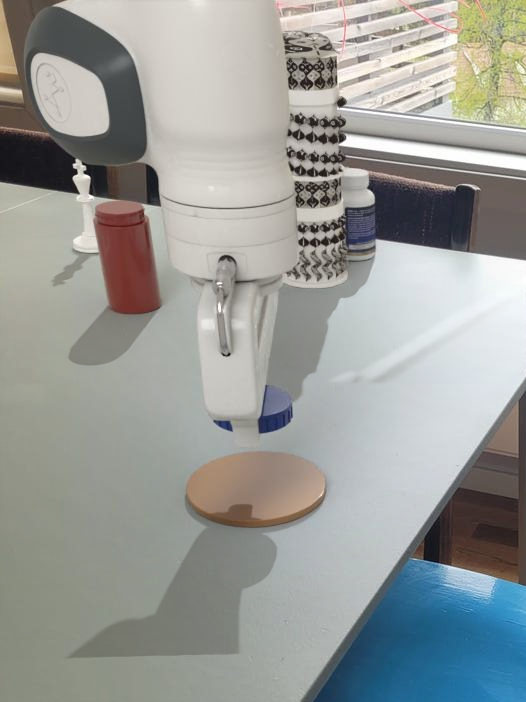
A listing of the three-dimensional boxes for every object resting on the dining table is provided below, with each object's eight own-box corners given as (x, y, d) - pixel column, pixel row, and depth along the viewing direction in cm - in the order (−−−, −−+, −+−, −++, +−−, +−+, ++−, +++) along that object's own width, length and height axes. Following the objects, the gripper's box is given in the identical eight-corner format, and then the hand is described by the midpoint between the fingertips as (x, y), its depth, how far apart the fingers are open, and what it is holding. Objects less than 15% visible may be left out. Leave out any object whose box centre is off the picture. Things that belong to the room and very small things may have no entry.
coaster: (178, 528, 75) (177, 521, 75) (195, 457, 84) (194, 451, 83) (324, 526, 77) (324, 520, 76) (327, 457, 85) (327, 450, 85)
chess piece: (92, 255, 120) (75, 167, 114) (64, 247, 122) (46, 159, 116) (123, 246, 124) (109, 159, 117) (95, 237, 125) (80, 151, 119)
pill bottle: (383, 252, 127) (383, 170, 121) (362, 264, 123) (360, 180, 117) (347, 245, 128) (344, 163, 122) (324, 256, 125) (321, 173, 118)
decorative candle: (304, 257, 124) (290, 24, 108) (366, 273, 121) (361, 35, 105) (257, 278, 117) (236, 33, 102) (322, 295, 114) (310, 44, 98)
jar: (104, 313, 107) (85, 214, 100) (113, 294, 111) (96, 198, 105) (157, 314, 107) (142, 215, 101) (165, 295, 112) (151, 200, 105)
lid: (300, 404, 78) (299, 387, 78) (282, 438, 74) (281, 421, 73) (224, 396, 78) (222, 379, 78) (201, 429, 74) (199, 412, 73)
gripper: (270, 290, 60) (287, 489, 69) (286, 194, 76) (298, 366, 84) (162, 288, 59) (193, 490, 68) (201, 192, 75) (222, 366, 84)
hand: (251, 420), depth 76 cm, fingers closed on lid, 6 cm apart
